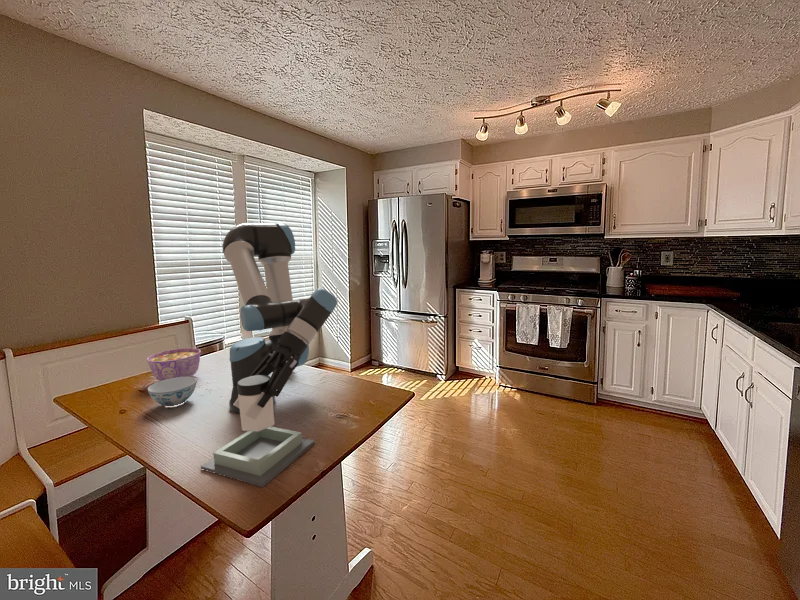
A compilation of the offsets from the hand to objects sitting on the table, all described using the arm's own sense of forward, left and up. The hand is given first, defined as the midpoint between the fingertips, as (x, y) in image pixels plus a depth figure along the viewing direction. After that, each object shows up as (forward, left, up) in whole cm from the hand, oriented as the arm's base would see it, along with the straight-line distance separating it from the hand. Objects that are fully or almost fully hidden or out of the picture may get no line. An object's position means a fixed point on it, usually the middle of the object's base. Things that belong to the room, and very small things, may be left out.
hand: (243, 412), depth 93 cm
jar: (+2, +3, -5) cm, 6 cm away
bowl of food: (-77, +37, -14) cm, 87 cm away
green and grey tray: (+1, +3, -14) cm, 14 cm away
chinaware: (-54, +19, -14) cm, 59 cm away
